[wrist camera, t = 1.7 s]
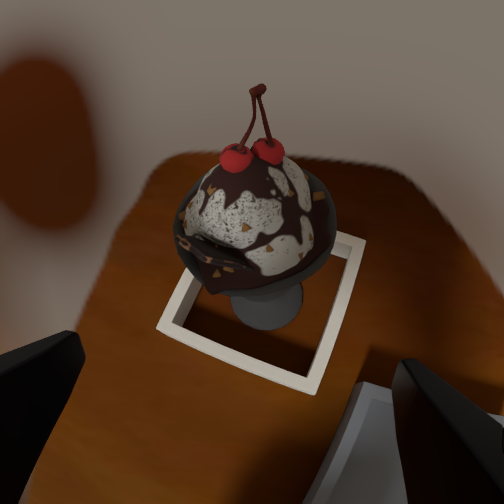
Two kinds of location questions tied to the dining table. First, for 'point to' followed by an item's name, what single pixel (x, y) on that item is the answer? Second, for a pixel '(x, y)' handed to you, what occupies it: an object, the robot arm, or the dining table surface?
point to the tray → (363, 454)
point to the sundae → (256, 228)
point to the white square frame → (172, 327)
